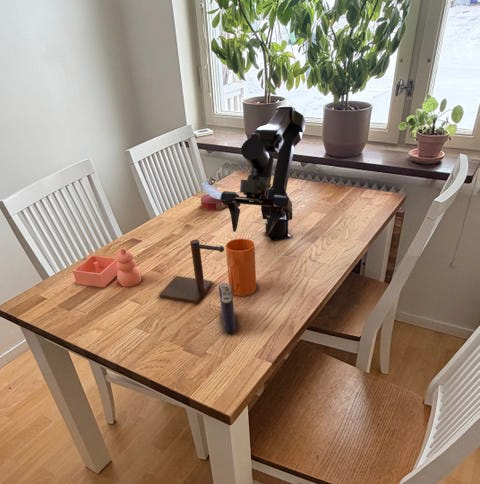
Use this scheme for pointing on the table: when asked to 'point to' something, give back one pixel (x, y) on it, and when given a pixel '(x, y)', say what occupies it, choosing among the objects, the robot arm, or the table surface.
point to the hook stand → (190, 279)
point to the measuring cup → (241, 266)
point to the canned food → (211, 198)
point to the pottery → (108, 270)
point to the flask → (227, 308)
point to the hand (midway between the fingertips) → (250, 233)
